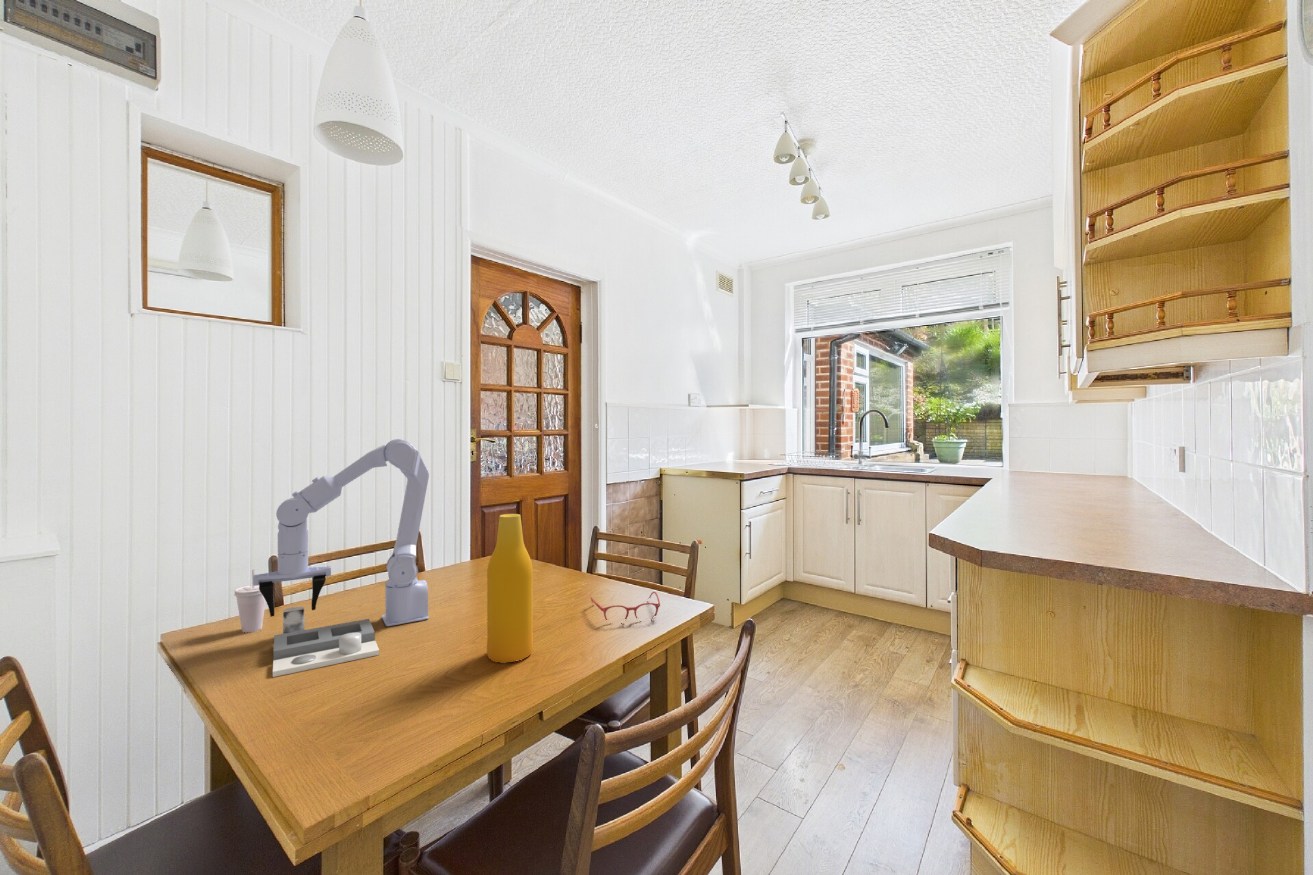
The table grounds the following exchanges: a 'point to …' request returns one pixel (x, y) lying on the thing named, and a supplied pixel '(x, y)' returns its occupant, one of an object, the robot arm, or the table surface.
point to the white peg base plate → (328, 655)
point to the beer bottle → (509, 594)
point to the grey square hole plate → (319, 638)
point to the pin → (293, 619)
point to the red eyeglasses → (628, 607)
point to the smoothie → (250, 607)
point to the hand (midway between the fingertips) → (293, 611)
